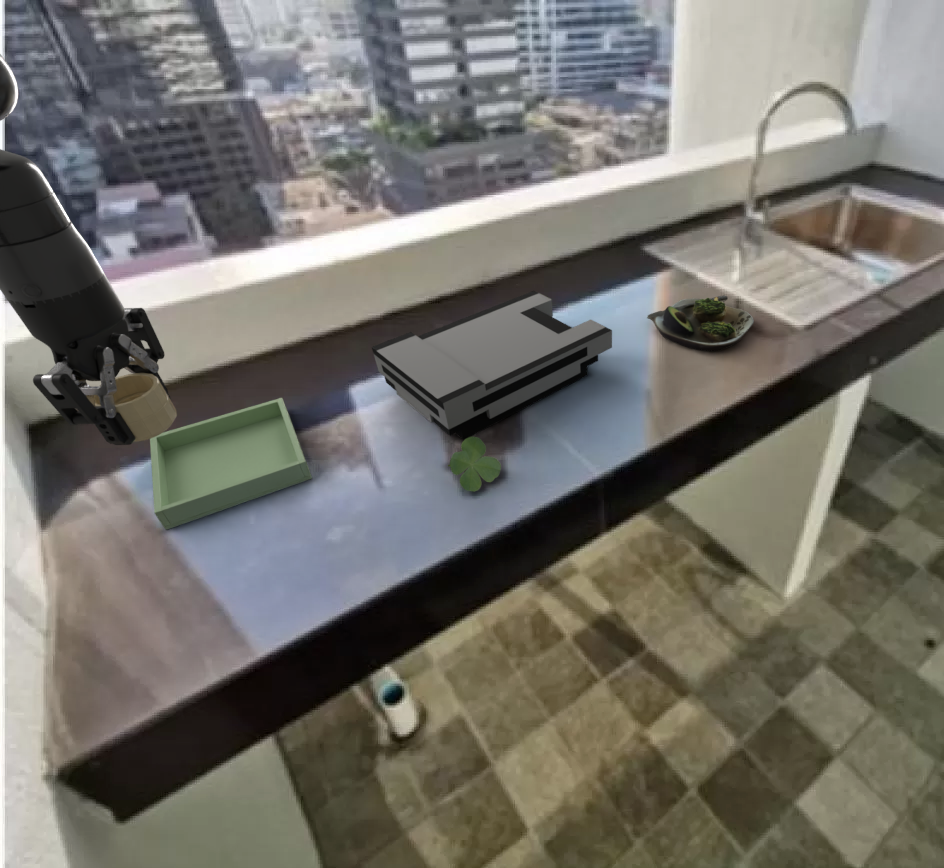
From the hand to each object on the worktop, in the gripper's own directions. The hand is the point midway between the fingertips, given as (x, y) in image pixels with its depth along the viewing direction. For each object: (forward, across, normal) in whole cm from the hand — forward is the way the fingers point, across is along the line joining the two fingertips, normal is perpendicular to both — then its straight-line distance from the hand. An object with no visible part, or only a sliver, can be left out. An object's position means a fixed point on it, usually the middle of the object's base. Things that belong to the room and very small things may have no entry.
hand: (143, 421), depth 66 cm
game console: (+17, -32, +34) cm, 49 cm away
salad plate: (+17, -47, +70) cm, 86 cm away
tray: (+17, -11, -2) cm, 20 cm away
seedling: (+17, -8, +33) cm, 38 cm away
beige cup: (+1, 0, 0) cm, 1 cm away
